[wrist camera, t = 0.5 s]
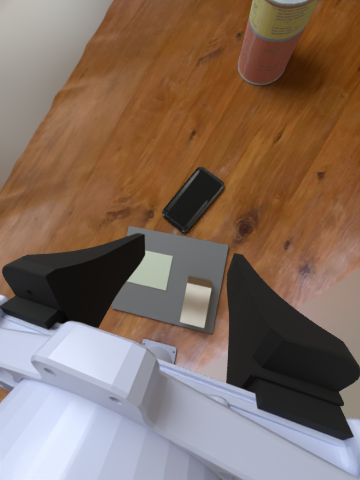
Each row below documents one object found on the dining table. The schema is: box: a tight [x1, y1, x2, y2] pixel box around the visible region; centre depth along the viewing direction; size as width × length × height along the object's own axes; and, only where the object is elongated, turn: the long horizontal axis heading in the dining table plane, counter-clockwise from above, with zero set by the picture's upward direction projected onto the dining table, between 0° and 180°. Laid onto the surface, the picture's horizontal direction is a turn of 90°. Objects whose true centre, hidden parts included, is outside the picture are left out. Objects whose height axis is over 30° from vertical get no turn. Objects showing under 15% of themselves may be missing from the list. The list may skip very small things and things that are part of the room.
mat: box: [111, 226, 229, 334], centre depth 35 cm, size 20×24×1 cm
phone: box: [162, 167, 224, 232], centre depth 36 cm, size 8×1×15 cm
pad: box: [127, 250, 173, 290], centre depth 35 cm, size 12×8×1 cm, turn 79°
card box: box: [180, 275, 212, 328], centre depth 32 cm, size 9×5×4 cm, turn 169°
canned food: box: [238, 0, 319, 85], centre depth 30 cm, size 11×11×12 cm
